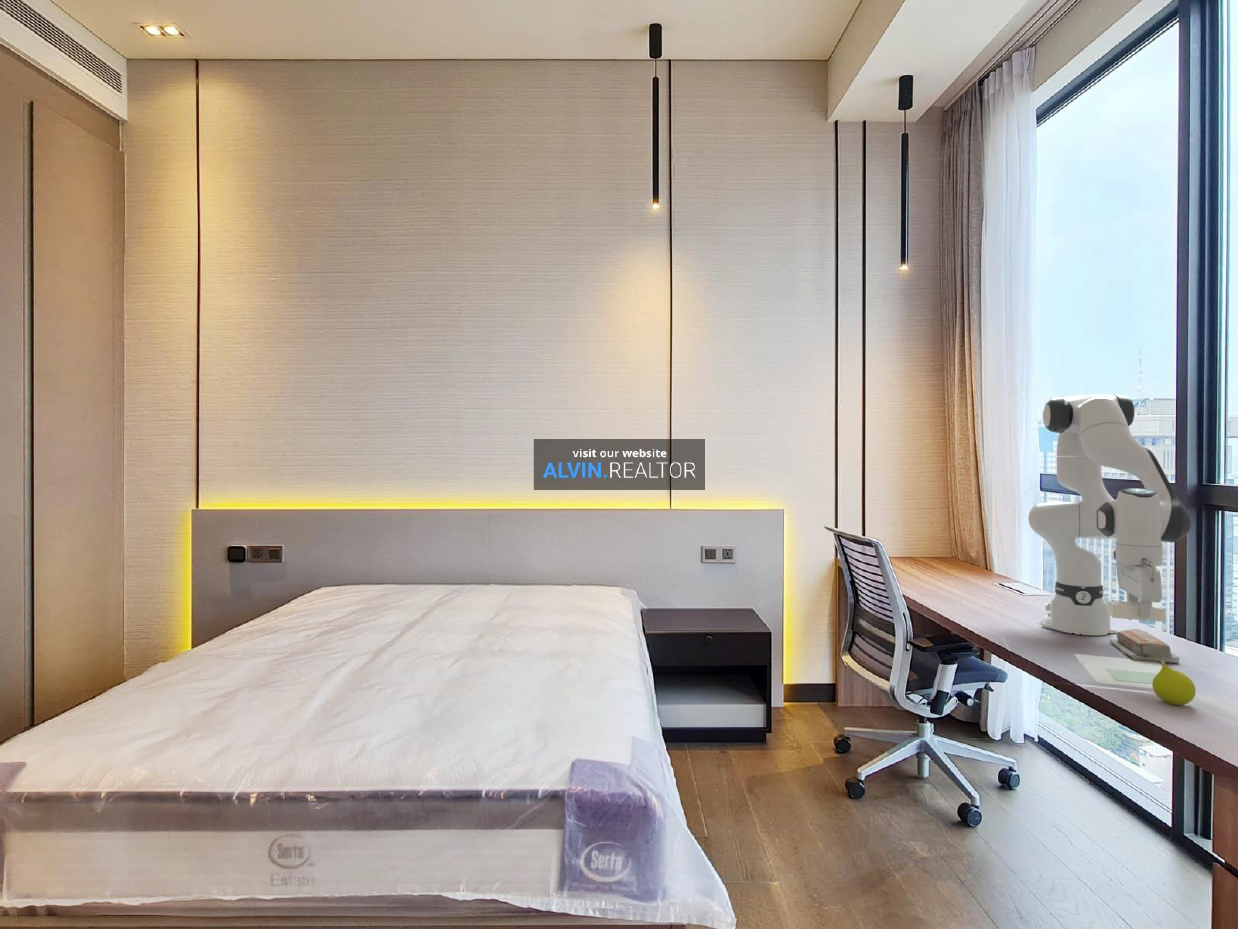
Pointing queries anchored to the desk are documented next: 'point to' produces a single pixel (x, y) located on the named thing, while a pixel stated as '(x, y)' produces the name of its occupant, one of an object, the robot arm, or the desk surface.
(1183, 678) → the yellow-green rounded piece
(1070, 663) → the desk surface
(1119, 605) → the card box
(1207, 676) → the desk surface
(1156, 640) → the packaged product
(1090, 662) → the mat
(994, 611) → the desk surface
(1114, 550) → the robot arm
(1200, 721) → the desk surface
